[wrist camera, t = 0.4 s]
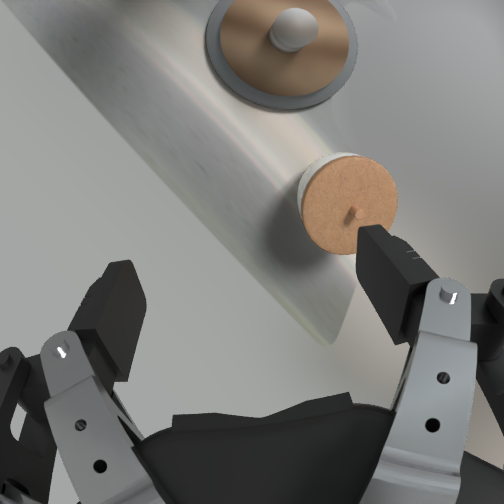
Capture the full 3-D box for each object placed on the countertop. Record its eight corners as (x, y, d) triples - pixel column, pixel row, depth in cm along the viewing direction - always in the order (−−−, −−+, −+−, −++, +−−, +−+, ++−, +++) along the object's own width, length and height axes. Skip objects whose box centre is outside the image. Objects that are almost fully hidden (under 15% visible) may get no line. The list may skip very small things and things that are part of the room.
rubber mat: (216, -30, 22) (216, -32, 22) (361, -4, 24) (363, -6, 24) (198, 101, 30) (198, 101, 30) (346, 120, 32) (348, 120, 32)
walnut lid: (228, -22, 23) (229, -42, 17) (350, 0, 24) (372, -13, 19) (213, 89, 29) (210, 87, 24) (338, 106, 31) (359, 108, 26)
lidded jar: (276, 215, 38) (291, 251, 29) (303, 132, 33) (329, 145, 25) (351, 234, 40) (380, 271, 32) (380, 160, 35) (420, 181, 27)
